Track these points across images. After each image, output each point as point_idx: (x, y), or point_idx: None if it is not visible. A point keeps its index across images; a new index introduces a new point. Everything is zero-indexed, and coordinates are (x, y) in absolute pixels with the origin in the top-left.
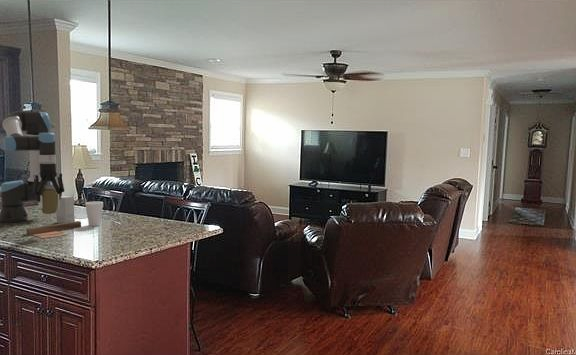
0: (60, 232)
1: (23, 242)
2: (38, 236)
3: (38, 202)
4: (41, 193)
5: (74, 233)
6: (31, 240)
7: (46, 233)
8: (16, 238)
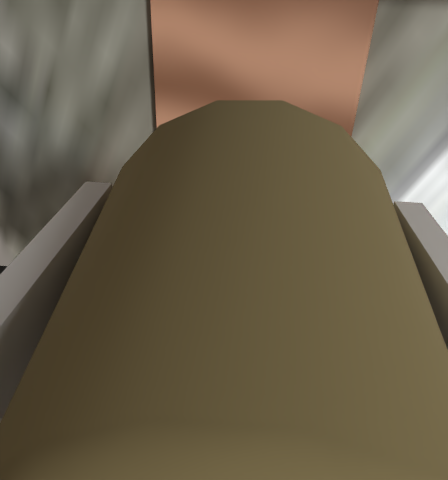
0: (356, 101)
1: (24, 183)
2: (157, 105)
3: (43, 229)
4: (16, 394)
5: (404, 197)
6: (81, 169)
7: (258, 40)
8: (4, 5)
